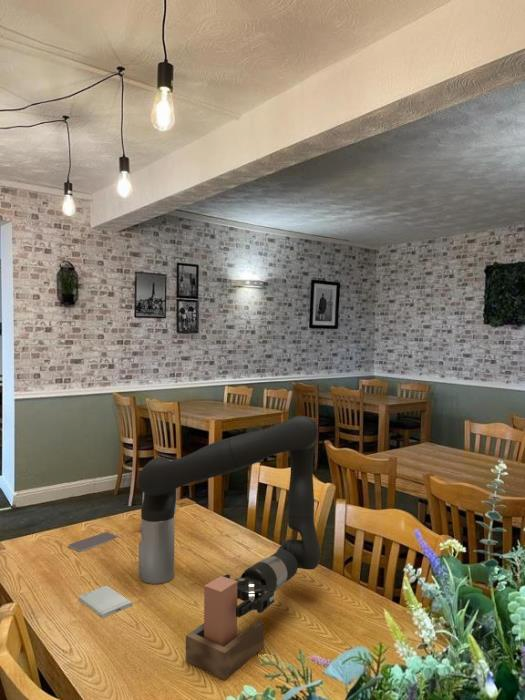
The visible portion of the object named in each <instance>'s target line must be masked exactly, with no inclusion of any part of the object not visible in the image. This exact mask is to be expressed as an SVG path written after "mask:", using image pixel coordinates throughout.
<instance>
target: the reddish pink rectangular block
mask: <svg viewBox="0 0 525 700" xmlns="http://www.w3.org/2000/svg"><path fill="white" fill-rule="evenodd" d="M223 576H224V575H219V576H218V577H217V578H215V579H213V580H211V581H210V582H208V583H207V584H204V585H203V587H204V588H203V590H204V592H203V598H204V599H203V600H204V601H203V605H204V607H203V620H204V621H203V623H204V638H205V639H207V640H210V641H212V642H214V643H216V644H219V645H221V646H223V647H224V646H226V645H227V644H228V643H230V642H231V641H232V640H233V639H235V638H236V637H237V636H238V617H236V607H237V606H238V598H237V581H235V580H234V579H233V578H230V579H229V578H226V577H223ZM232 579H233V580H232Z"/></svg>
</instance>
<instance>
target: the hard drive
mask: <svg viewBox="0 0 525 700" xmlns="http://www.w3.org/2000/svg"><path fill="white" fill-rule="evenodd" d="M78 601H79V602H81V603H82V604H84V605H85V606H86V607H87V608H89V610H91V611H93V612H94V613H95V614H97V615H98V616H99V617H101V618H102V619H105V618H107V617H109V616H111V615H114V614H118V612H121V611H123V610H126V609H128V608H131V607H133V602H132V601H131V600H129V599H128V598H126V597H125V596H123V595H122V594H120V593H119V592H118V591H115V590H114V589H113V588H111V587H109V586H108V585H104V586H101V587H99V588H96V589H94V590H90V591H88V592H86V593H83V594H81V595H79V596H78Z"/></svg>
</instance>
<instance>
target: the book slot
mask: <svg viewBox="0 0 525 700" xmlns="http://www.w3.org/2000/svg"><path fill="white" fill-rule="evenodd" d="M264 625H265V622H264V621H261V620H257V621H255V622H254V623H253V624H251V625H250V626H249V627H248V628H246V629H245V630H244V631H242V632H241V633H240V634H239V635H237V637H236V638H235V639H233V640H232V641H231V642H230V643H228V644H227V645H226V646H224V647H223V646H221V645H219V644H216V643H214V642H212V641H210V640H207V639H205V638H204V622H203V623H202V624H200V625H199V626H198V627H196V628H195V629H194V630H191V631H190V632H189V633H188V634H185V662H186V663H187V664H188V663H189V664H190V665H192V666H194V667H197V668H199V669H201V670H202V671H205V672H207V673H209V674H210V675H213V676H215V677H217V678H219V679H220V680H223V681H226V680H227V679H229V678H230V677H231V676H232V675H233V674H234V673H235V672H237V671H238V670H240V668H241V667H243V665H245V664H247V662H248V661H249V660H250V658H251V657H252V656H253V657H254V656H255V655H256V654H257V653H256V652H258V653H259V652H260V651H261V650H262V649H263V648H264V643H265V641H264V639H265V631H264V630H265V629H264V628H265V626H264ZM253 657H252V658H253ZM252 658H251V659H252Z"/></svg>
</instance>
